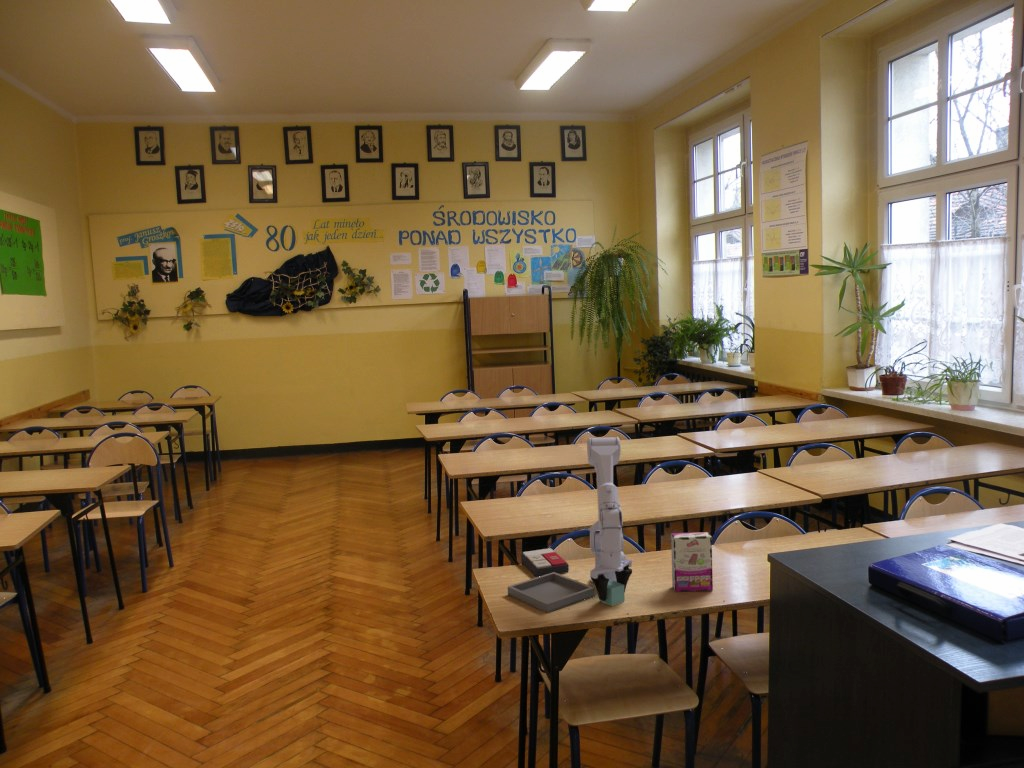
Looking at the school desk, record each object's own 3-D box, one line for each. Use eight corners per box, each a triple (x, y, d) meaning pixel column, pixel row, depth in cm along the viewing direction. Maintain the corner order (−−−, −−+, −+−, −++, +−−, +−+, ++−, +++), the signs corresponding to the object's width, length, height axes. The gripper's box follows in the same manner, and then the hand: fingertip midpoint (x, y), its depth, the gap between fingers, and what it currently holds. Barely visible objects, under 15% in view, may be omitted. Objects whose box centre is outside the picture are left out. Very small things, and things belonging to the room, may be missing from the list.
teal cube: (611, 596, 222) (611, 580, 221) (624, 601, 218) (624, 584, 217) (599, 601, 218) (599, 584, 218) (612, 606, 215) (611, 589, 214)
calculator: (536, 567, 239) (520, 550, 253) (536, 580, 239) (520, 562, 254) (569, 562, 242) (551, 546, 256) (569, 575, 243) (551, 558, 257)
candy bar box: (708, 585, 228) (708, 531, 226) (713, 591, 223) (712, 536, 221) (671, 586, 228) (670, 532, 226) (674, 592, 223) (673, 537, 221)
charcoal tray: (554, 579, 236) (553, 571, 236) (594, 596, 222) (594, 587, 222) (507, 594, 225) (507, 586, 225) (547, 613, 211) (547, 604, 211)
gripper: (602, 559, 209) (603, 607, 210) (639, 547, 218) (639, 593, 219) (584, 553, 214) (585, 600, 216) (621, 542, 223) (622, 587, 225)
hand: (611, 596), depth 218 cm, fingers open, 7 cm apart
